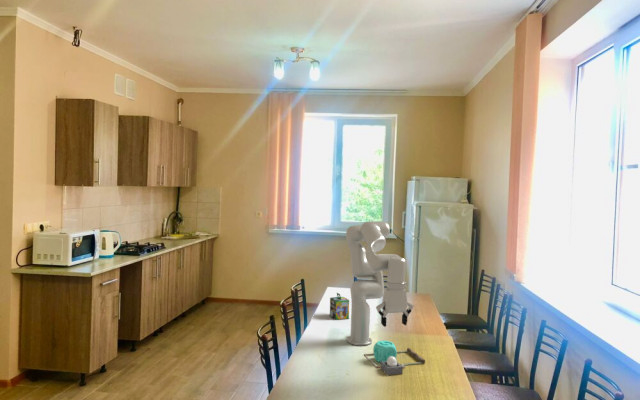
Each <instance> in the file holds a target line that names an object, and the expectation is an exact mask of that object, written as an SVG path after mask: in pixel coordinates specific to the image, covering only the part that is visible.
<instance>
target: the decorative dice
mask: <svg viewBox="0 0 640 400" xmlns="http://www.w3.org/2000/svg"><path fill="white" fill-rule="evenodd" d="M396 347H397V346H396V345H395V343H393V342H392V341H390V340H379V341H377V342H375V344H374V346H373V349H372V354H373V353H374V355H373V357H374V359H375V361H376V362H378V363H380V364H381V362H384V361H387V359H388V358H389V357H390V356H393V357H395V358H396V359H397V356H398V355H397V354H398V353H397V351H398V350H397V348H396Z"/></svg>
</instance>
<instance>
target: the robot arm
mask: <svg viewBox="0 0 640 400" xmlns="http://www.w3.org/2000/svg"><path fill="white" fill-rule="evenodd" d="M390 233H391V230H390V225H389V224H388V223H387V222H386V221H374V220H373V221H370V220H369V221H365V222H364V223H362V224H356V225H351V226H348V227H347V229H346V232H345V239H346V240H345V241H346V243H347V247H348V250H349V253H350V254H349V256H350V267H351V273H352V276H353V277H354V278H357V279H359V278H360V280H356V281H353V282H352V283H351V284H350V296H351V297H350V298H351V311H350V312H351V316H350V336H348V337H347V339H346V340H347V342H348V343H349V344H350V345H354V346H360V347H361V346H370V345H371V344H372V342H373V339H372V338H371V337H370V321H371V319H370V318H371V307H370V304H369V303H368V302H367V300H375V299H381V298H382V303H380V304H378V305H376V306H375V309H376V311H377V313H378V315H380V324H381V326H383V327H384V328H385V327H387V320H388V319H387V316H388V314H396V313H397V314H398V313H402V315H401V324H402V325H404V326H407V323H408V317H409V315H410V314H411V313H412V310H413V309H414V304H412V303H409V302H408V295H407V290H406V287H407V286H408V283H407V282H406V265H407V263H406V262H407V261H406V259H405V258H403V257H401V256H400V255H398V254H396V253H395V254H394V253H379V254H377V253H378V252H380V251H382V250H383V249H384V248H385V246H386V243H387V240H386V239H387V238H388V237H389V236H390ZM361 242H366V244H367V246H366V248H365V246H364V245H363V244H362V243H361ZM383 272H387V277H386V278H387V279H386V287H385V283H384V273H383ZM362 278H363V280H362ZM366 278H367V279H366ZM368 278H370V279H368ZM407 307H408V308H407ZM381 309H382V310H381Z"/></svg>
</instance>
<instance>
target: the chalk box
mask: <svg viewBox="0 0 640 400" xmlns="http://www.w3.org/2000/svg"><path fill="white" fill-rule="evenodd" d="M329 316H330V317H331V319H333V320H335V321H337V320H347V319H348V320H349V319H350V299H348V298H347V297H344V296H342V295H341V294H340V293H338V292H336V296H333V297H330V298H329Z"/></svg>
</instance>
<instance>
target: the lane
mask: <svg viewBox="0 0 640 400" xmlns="http://www.w3.org/2000/svg"><path fill="white" fill-rule="evenodd" d="M396 351H397V354H405V353H406V354H407V353H408V354H409V355H411V356H412V357H413V358H414V359H415V360H417V361H418V362H406V363H399V364H400V365H401V366H402V367H403V369H406V366H413V365H414V366H415V365H416V366H417V365H425V364H426V360H425V358H423V357H422V356H421V355H420V354H418V353H417V352H416V351H414V350H413V349H411V348H410V347H407V349H406V350H401V351H398V350H396ZM363 355H364V357H365V358H366V359H367V360H369V362H370V363H372V365H374V367H375V368H376V369H381V365H377V363H376V362H374V360H373V359H372V358H371V357H370V356H374V353H373V352H372V353H364V354H363Z"/></svg>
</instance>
